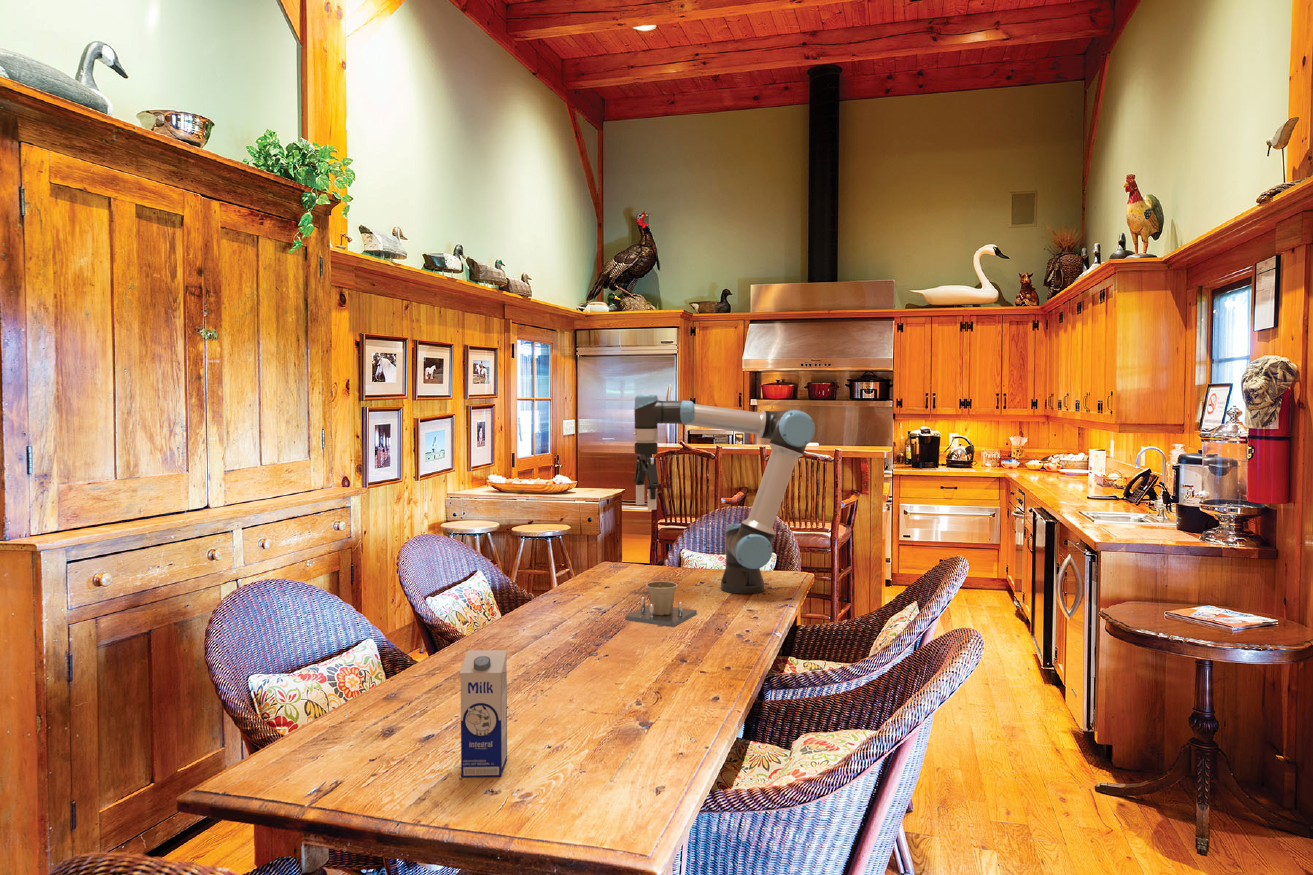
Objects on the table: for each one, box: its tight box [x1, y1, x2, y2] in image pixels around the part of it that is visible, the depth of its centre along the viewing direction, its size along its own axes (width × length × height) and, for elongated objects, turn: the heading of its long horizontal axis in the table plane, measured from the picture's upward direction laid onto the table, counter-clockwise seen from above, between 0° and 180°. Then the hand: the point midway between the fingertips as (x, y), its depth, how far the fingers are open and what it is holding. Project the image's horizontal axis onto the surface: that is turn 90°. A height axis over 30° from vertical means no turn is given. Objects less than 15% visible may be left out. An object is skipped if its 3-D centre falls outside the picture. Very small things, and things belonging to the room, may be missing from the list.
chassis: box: [624, 596, 698, 628], centre depth 239 cm, size 16×16×5 cm
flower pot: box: [645, 580, 678, 615], centre depth 239 cm, size 9×9×9 cm
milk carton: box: [459, 649, 508, 778], centre depth 138 cm, size 7×7×20 cm
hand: (646, 507), depth 259 cm, fingers open, 13 cm apart
